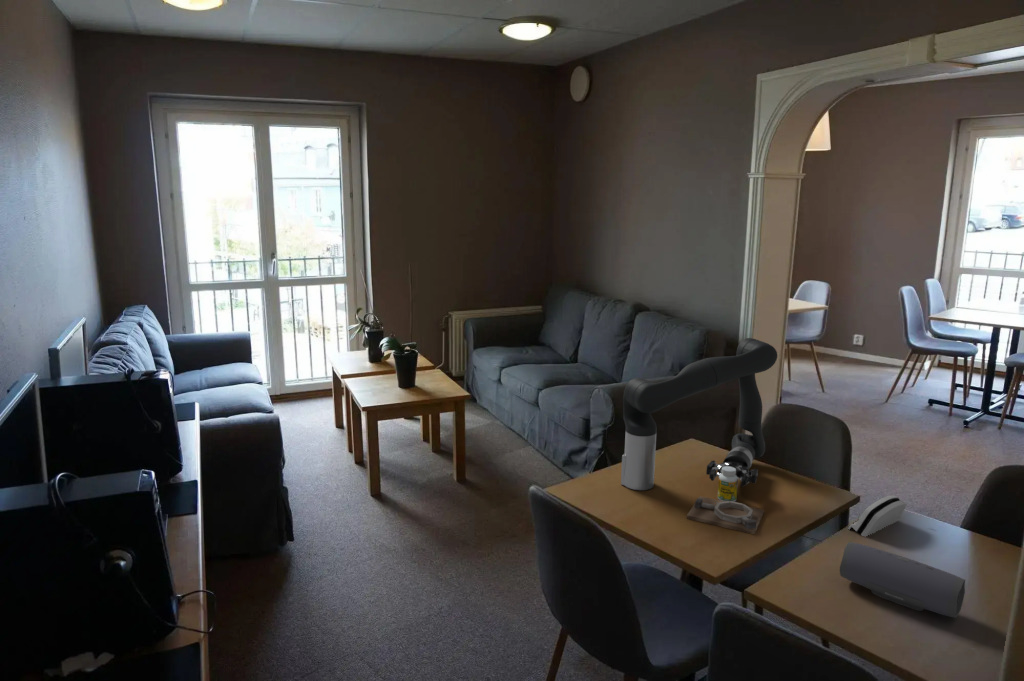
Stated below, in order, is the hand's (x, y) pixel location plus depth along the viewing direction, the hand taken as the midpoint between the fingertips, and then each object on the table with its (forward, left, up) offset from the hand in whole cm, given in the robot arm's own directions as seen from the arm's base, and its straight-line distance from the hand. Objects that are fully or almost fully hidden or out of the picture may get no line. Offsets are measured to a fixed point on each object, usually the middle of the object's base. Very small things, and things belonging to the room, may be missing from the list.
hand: (727, 480), depth 197 cm
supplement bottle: (0, +2, -7) cm, 7 cm away
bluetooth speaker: (+44, -31, -7) cm, 54 cm away
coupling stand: (+2, -9, -7) cm, 12 cm away
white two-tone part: (+39, +4, -7) cm, 40 cm away
